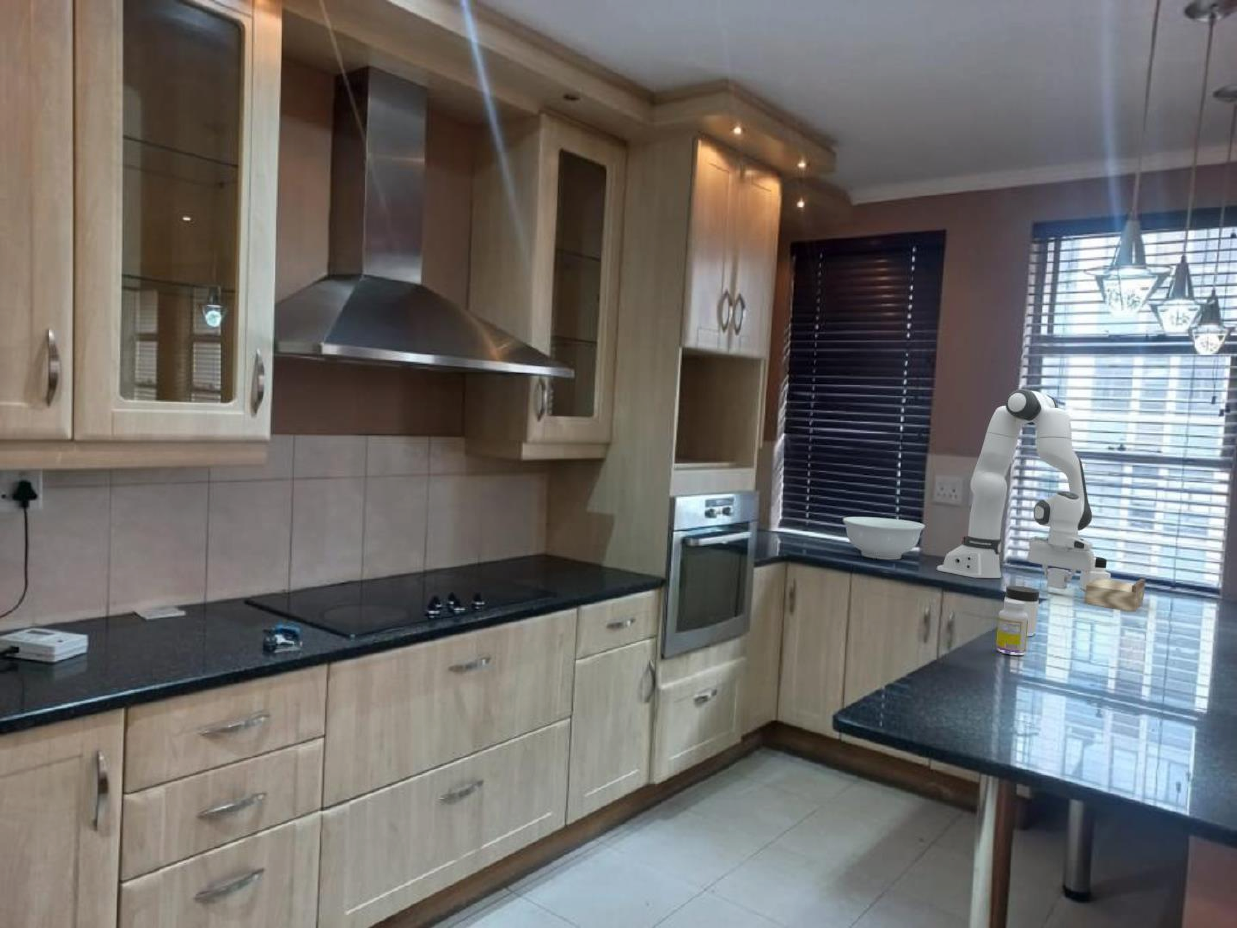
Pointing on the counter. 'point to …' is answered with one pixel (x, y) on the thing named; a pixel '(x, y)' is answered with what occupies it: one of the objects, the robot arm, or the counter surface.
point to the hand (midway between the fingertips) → (1057, 580)
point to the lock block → (1057, 578)
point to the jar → (1026, 603)
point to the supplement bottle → (1012, 627)
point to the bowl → (882, 536)
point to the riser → (1115, 594)
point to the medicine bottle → (1094, 573)
